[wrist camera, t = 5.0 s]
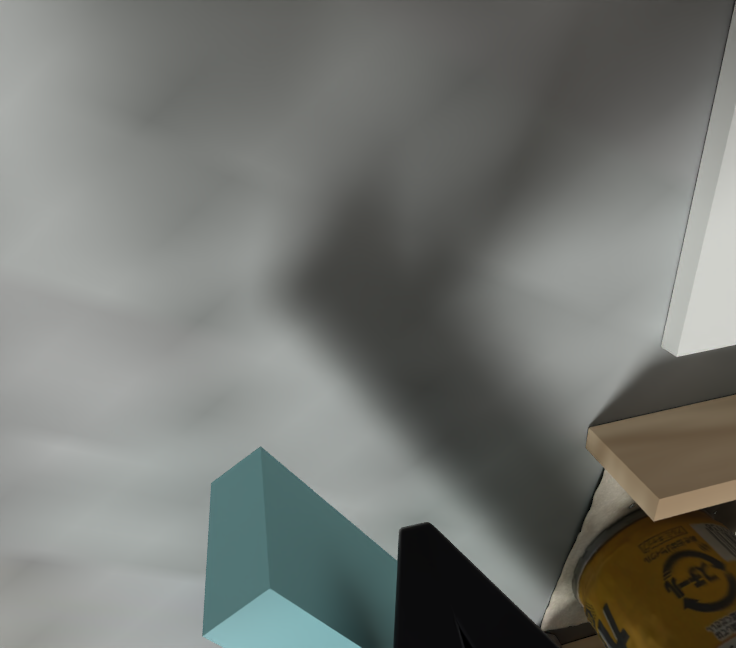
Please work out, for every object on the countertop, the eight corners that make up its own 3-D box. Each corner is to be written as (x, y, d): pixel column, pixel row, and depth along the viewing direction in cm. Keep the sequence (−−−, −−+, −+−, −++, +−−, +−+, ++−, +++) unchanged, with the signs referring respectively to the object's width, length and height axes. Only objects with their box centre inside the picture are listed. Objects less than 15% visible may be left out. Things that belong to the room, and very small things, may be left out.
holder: (753, 597, 23) (906, 754, 18) (510, 671, 21) (602, 872, 16) (849, 368, 17) (1114, 498, 12) (531, 440, 15) (684, 632, 10)
